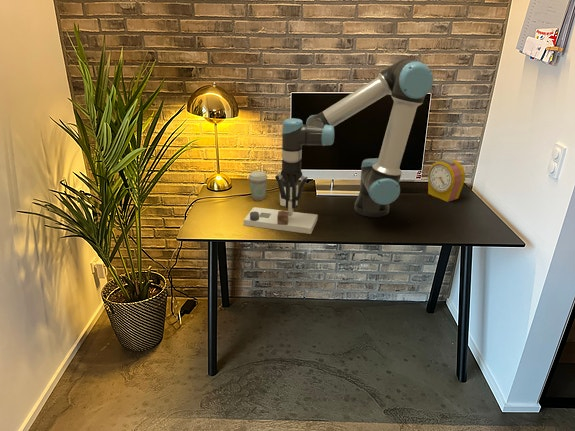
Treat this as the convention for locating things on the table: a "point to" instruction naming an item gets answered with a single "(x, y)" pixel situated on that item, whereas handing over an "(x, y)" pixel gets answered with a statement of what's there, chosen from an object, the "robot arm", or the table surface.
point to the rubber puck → (254, 216)
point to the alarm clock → (446, 179)
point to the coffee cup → (258, 184)
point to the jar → (283, 201)
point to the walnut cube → (282, 218)
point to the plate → (295, 224)
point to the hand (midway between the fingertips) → (290, 214)
